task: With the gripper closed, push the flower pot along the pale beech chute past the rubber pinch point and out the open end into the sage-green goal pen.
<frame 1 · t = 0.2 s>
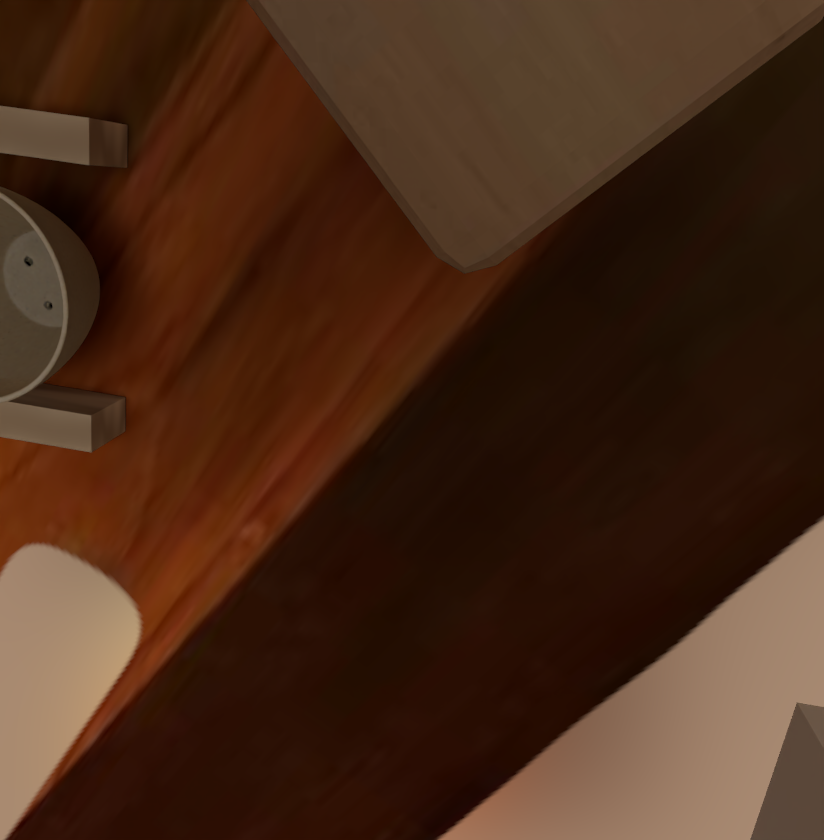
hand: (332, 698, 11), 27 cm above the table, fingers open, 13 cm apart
wooden block: (507, 83, 33), on the table
flower pot: (56, 276, 38), on the table
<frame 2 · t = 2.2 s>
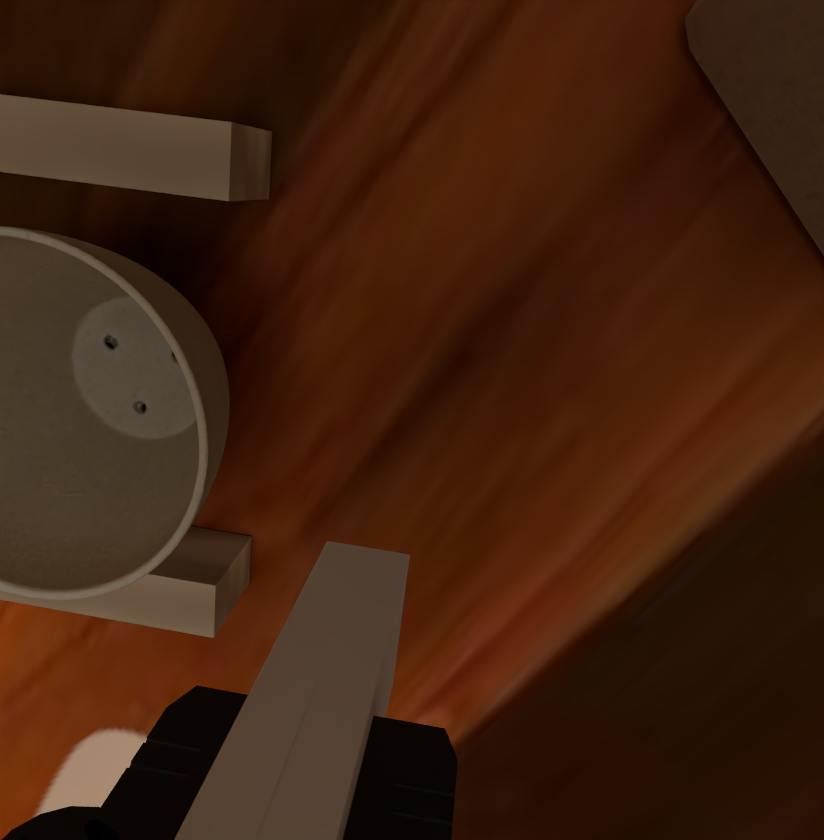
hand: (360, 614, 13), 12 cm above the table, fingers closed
chute: (12, 343, 26), on the table
flower pot: (151, 362, 25), on the table
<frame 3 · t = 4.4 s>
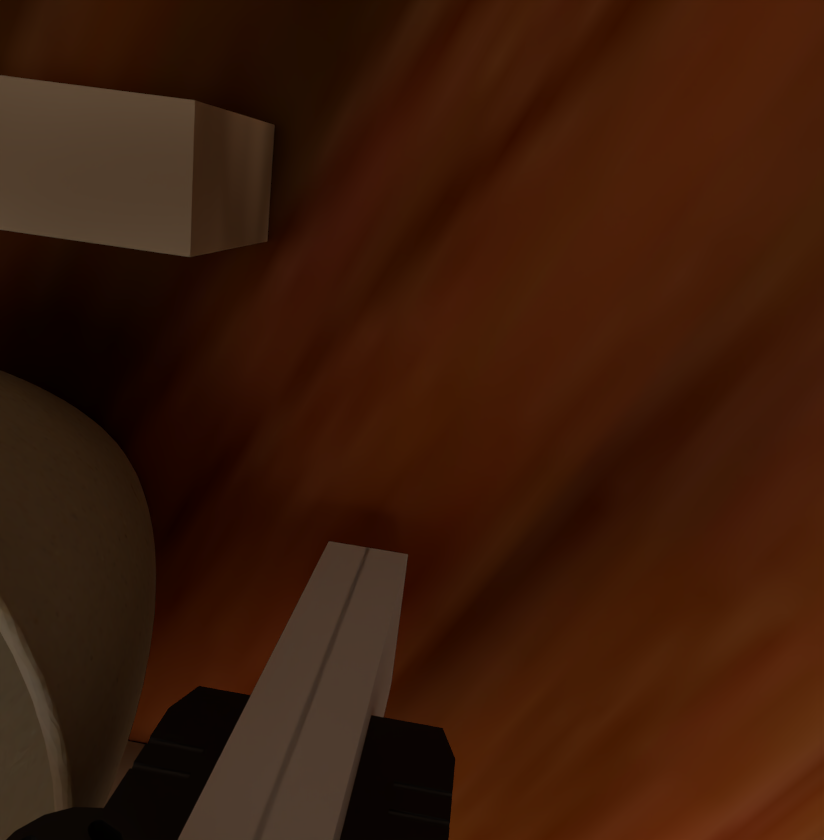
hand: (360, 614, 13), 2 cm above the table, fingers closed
flower pot: (42, 496, 16), on the table, touching gripper
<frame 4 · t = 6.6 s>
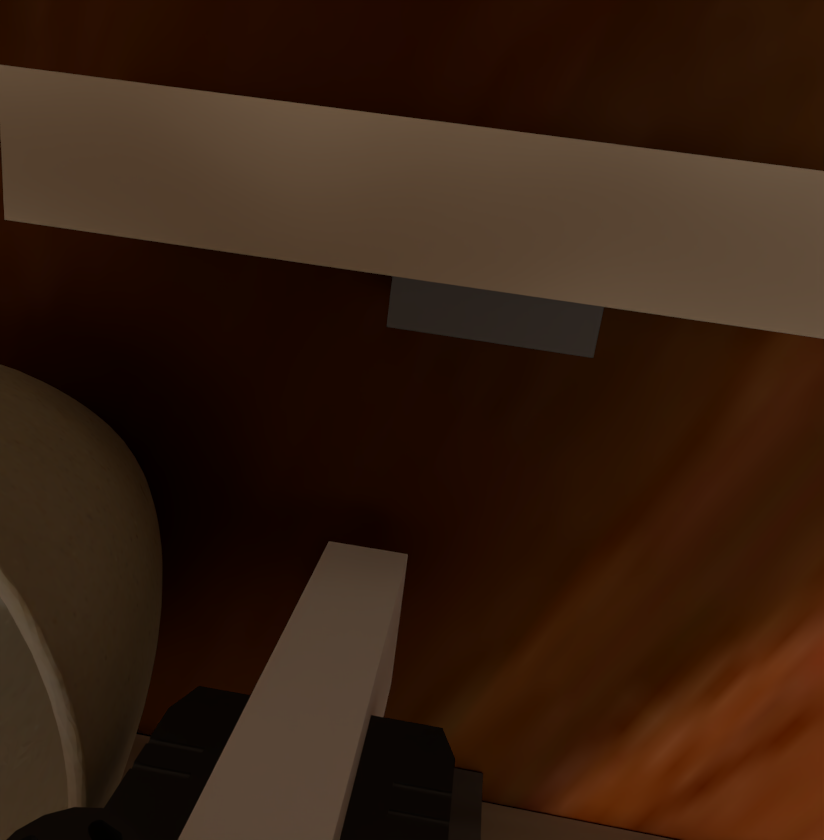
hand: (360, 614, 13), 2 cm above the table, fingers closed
chute: (547, 576, 15), on the table
flower pot: (48, 493, 16), on the table, touching gripper
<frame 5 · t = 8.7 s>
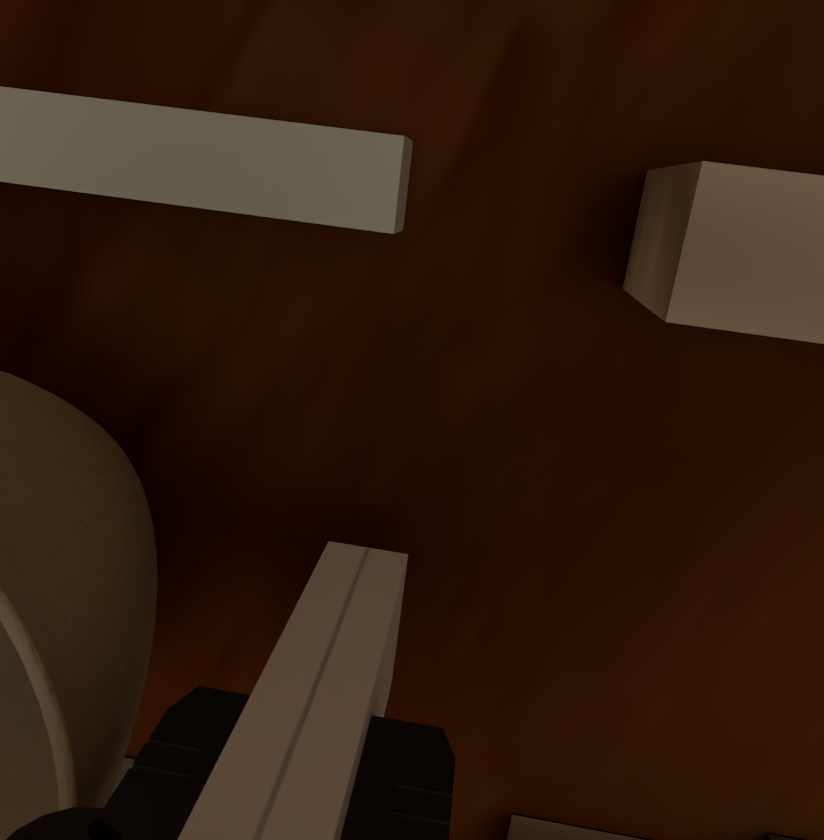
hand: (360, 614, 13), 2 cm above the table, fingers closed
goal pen: (89, 506, 15), on the table
flower pot: (43, 497, 16), on the table, touching gripper
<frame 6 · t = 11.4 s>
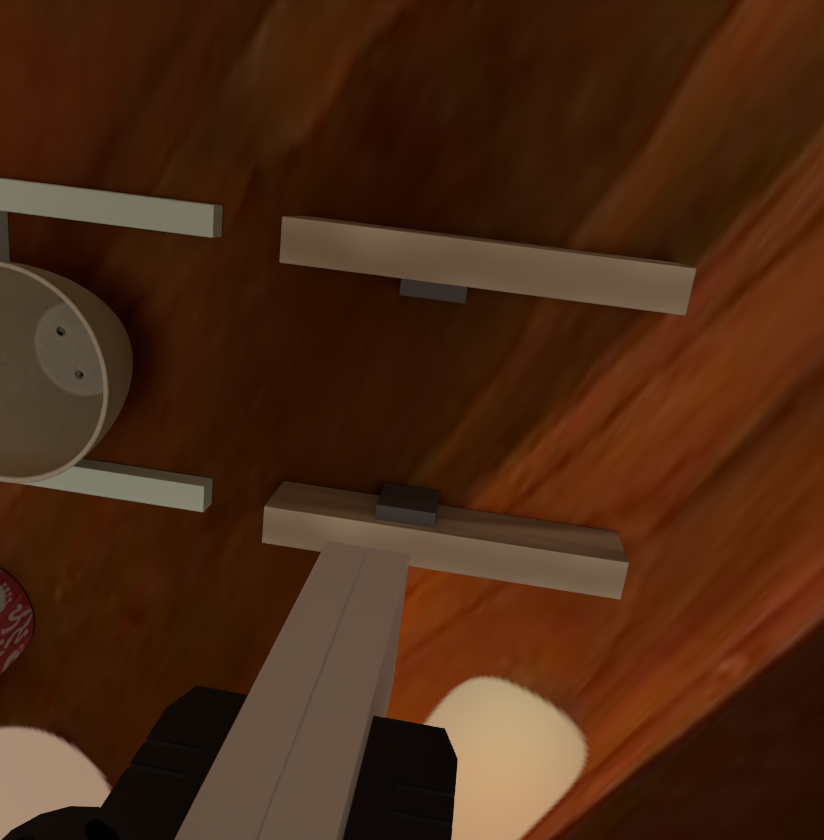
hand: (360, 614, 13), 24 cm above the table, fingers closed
chute: (463, 398, 37), on the table
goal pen: (107, 348, 38), on the table
flower pot: (87, 345, 39), on the table
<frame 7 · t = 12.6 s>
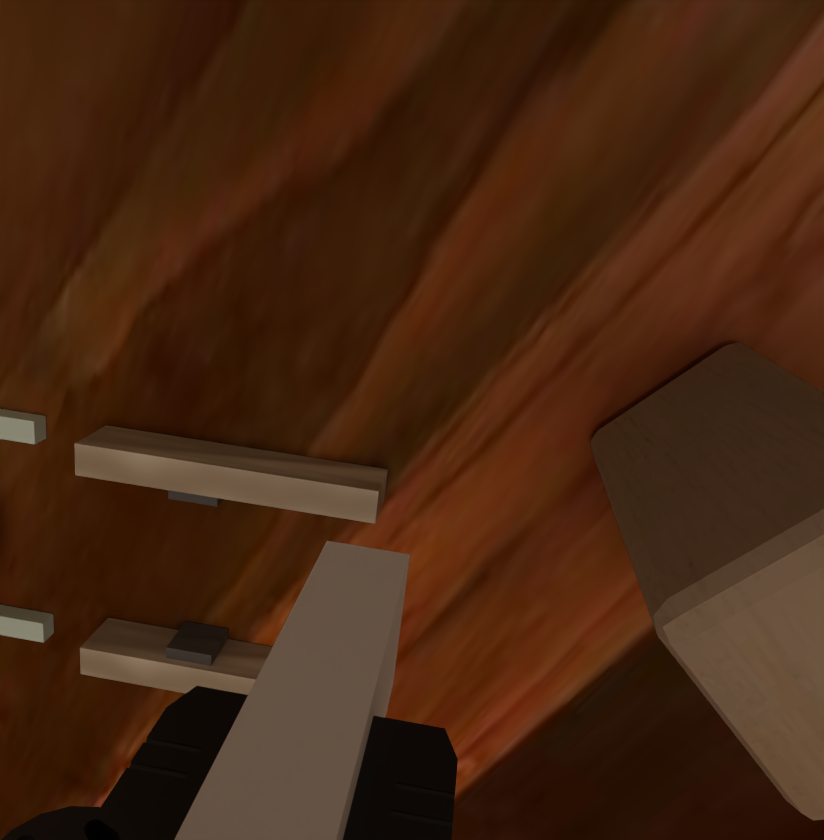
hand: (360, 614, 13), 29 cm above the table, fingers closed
chute: (239, 561, 47), on the table
wooden block: (704, 451, 42), on the table
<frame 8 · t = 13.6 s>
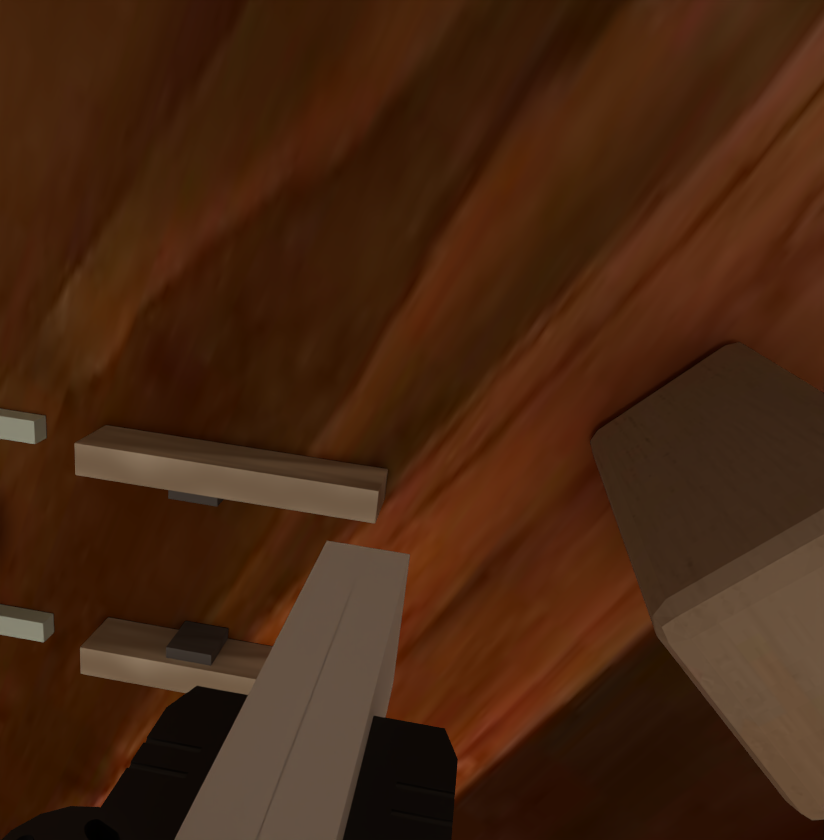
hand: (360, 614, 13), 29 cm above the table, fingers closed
chute: (239, 561, 47), on the table
wooden block: (704, 451, 42), on the table
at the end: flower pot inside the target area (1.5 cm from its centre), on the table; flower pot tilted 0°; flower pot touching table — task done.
